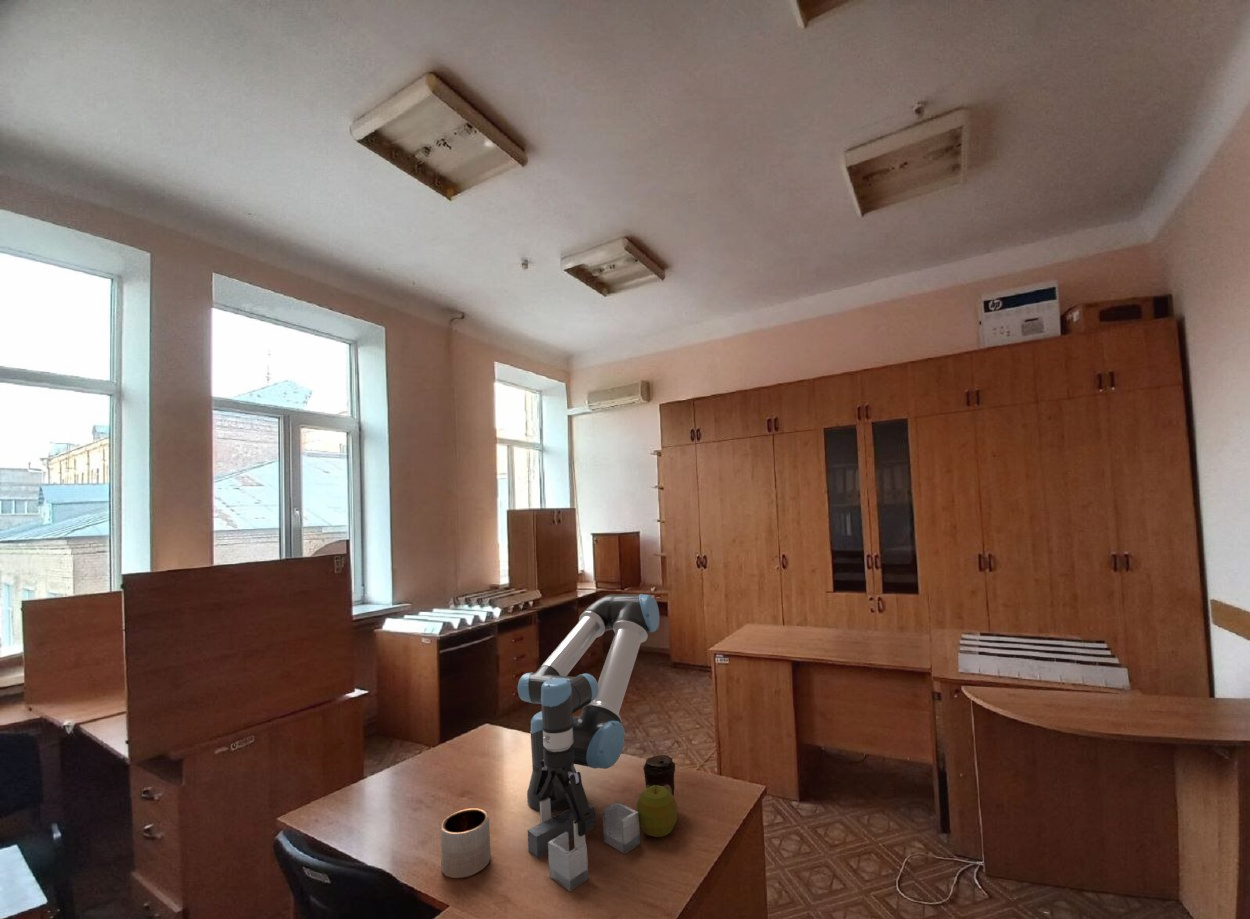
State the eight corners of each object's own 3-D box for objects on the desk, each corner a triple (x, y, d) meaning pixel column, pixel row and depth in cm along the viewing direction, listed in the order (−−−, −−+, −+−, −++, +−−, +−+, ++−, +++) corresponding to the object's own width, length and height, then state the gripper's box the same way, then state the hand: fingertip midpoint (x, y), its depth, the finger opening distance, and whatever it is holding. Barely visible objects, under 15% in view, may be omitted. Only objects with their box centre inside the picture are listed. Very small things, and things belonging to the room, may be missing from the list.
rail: (528, 852, 125) (527, 830, 125) (585, 821, 136) (584, 801, 136) (537, 860, 122) (536, 836, 122) (595, 827, 133) (594, 806, 133)
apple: (638, 822, 134) (635, 776, 135) (677, 820, 133) (673, 774, 135) (638, 846, 124) (635, 796, 125) (679, 844, 123) (676, 794, 125)
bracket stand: (549, 876, 115) (547, 842, 116) (619, 832, 130) (617, 802, 131) (570, 891, 110) (568, 855, 111) (640, 843, 125) (638, 812, 125)
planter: (448, 853, 126) (447, 810, 127) (494, 847, 127) (492, 805, 128) (435, 883, 115) (434, 836, 116) (486, 877, 116) (484, 830, 117)
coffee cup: (676, 823, 132) (672, 768, 133) (643, 822, 134) (640, 767, 135) (680, 804, 140) (676, 753, 142) (649, 803, 142) (645, 752, 143)
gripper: (517, 738, 137) (520, 826, 135) (578, 765, 120) (583, 866, 117) (541, 729, 143) (545, 813, 140) (603, 753, 125) (608, 850, 122)
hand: (562, 838), depth 129 cm, fingers open, 13 cm apart
